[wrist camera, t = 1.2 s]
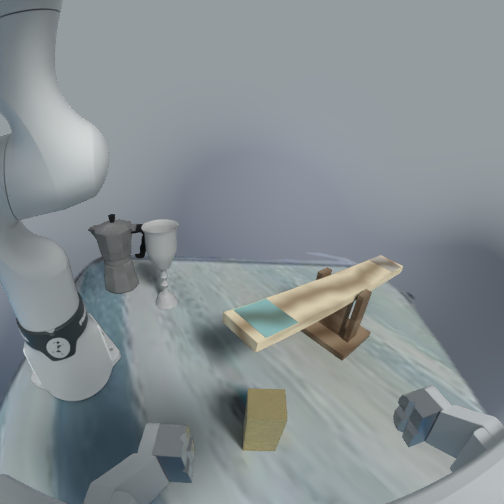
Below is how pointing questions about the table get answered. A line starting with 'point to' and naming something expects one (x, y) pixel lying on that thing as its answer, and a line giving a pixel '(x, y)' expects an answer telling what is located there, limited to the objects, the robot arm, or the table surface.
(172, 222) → the chalice
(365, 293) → the beam stand
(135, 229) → the coffeepot
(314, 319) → the balance beam
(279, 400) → the tall olive textured block
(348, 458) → the table surface
